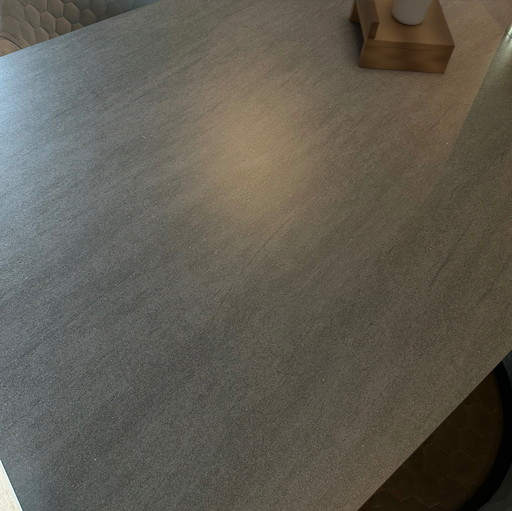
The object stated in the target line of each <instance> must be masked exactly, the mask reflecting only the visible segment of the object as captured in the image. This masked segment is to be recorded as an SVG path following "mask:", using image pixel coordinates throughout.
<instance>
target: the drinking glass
mask: <svg viewBox="0 0 512 511" xmlns="http://www.w3.org/2000/svg"><path fill="white" fill-rule="evenodd" d="M431 2H432V0H395V2H394V5H393V9H392V14H393V16H394V18H395V19H396V20H398V21H399V22H401V23H403V24H407V25H417V24H420V23H421V22H423V20H424V19H425V17H426V14H427V11H428V8H429V6H430V4H431Z"/></svg>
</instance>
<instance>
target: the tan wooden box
mask: <svg viewBox="0 0 512 511" xmlns="http://www.w3.org/2000/svg"><path fill="white" fill-rule="evenodd" d="M394 2H395V0H352V5H351V8H350V9H351V10H350V12H349V16H348V19H349V22H350V23H360V27H361V33H362V36H363V37H362V38H363V44H362V46H361V47H362V48H361V51H360V55H359V59H358V62H357V63H358V68H363V69H364V68H365V69H376V70H379V69H380V70H389V71H390V70H392V71H406V72H419V73H434V74H445V71H446V69H447V66H448V65H449V62H450V60H451V57H452V54H453V53H454V50H455V48H456V44H455V42H454V38H453V36H452V32H451V30H450V27H449V24H448V21H447V18H446V16H445V13H444V10H443V7H442V4H441V2H440V0H432V2H431V4H430V6H429V8H428V11H427V14H426V17H425V19H424V20H423V22H421V23H420V24H417V25H407V24H403V23H401V22H399V21H398V20H396V19H395V18H394V16H393V14H392V9H393V5H394Z"/></svg>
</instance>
